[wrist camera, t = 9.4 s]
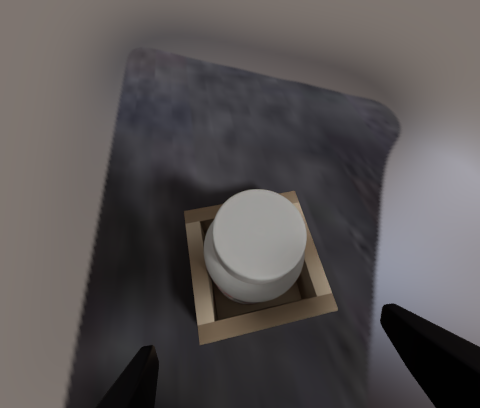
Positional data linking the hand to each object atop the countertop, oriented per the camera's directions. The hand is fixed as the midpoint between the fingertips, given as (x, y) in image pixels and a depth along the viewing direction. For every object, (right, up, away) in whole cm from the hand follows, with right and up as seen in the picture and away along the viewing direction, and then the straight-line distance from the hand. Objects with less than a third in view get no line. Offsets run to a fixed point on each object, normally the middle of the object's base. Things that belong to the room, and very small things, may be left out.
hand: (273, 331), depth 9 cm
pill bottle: (-1, 0, +10) cm, 10 cm away
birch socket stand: (0, 0, +10) cm, 10 cm away
